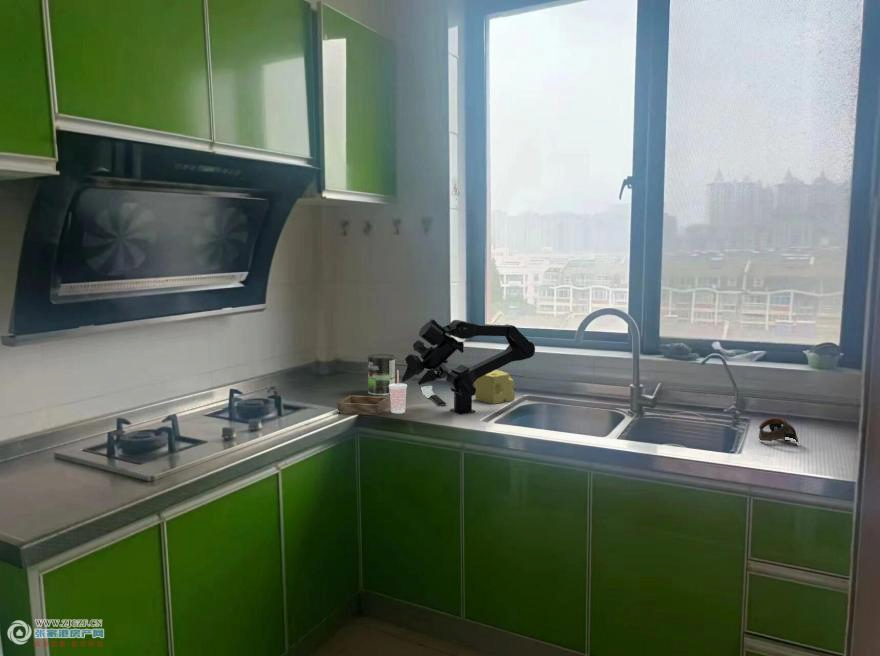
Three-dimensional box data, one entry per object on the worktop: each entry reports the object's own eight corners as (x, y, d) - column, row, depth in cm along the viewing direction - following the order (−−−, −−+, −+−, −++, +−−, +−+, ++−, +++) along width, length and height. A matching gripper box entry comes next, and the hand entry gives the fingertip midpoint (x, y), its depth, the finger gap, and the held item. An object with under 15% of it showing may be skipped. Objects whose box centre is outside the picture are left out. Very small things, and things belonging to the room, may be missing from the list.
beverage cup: (397, 408, 217) (397, 367, 215) (411, 411, 213) (411, 369, 211) (385, 412, 212) (384, 370, 210) (398, 414, 208) (398, 372, 206)
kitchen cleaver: (406, 387, 249) (431, 383, 251) (406, 391, 249) (431, 387, 251) (421, 406, 219) (449, 401, 221) (422, 410, 219) (450, 406, 221)
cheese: (514, 400, 230) (515, 373, 228) (492, 404, 223) (492, 376, 222) (495, 395, 238) (495, 369, 237) (473, 399, 231) (473, 372, 230)
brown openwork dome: (806, 451, 173) (794, 427, 171) (770, 463, 176) (758, 439, 174) (792, 429, 183) (782, 405, 182) (759, 440, 187) (748, 417, 185)
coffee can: (378, 396, 235) (378, 358, 233) (362, 392, 242) (362, 355, 241) (400, 393, 241) (400, 356, 240) (384, 388, 249) (384, 352, 248)
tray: (388, 406, 219) (388, 397, 219) (378, 415, 207) (378, 405, 207) (349, 404, 222) (349, 395, 222) (337, 412, 210) (337, 403, 210)
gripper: (445, 338, 221) (415, 367, 225) (413, 329, 205) (382, 361, 210) (461, 362, 215) (430, 392, 220) (430, 355, 200) (397, 387, 205)
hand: (410, 382), depth 214 cm, fingers open, 9 cm apart
